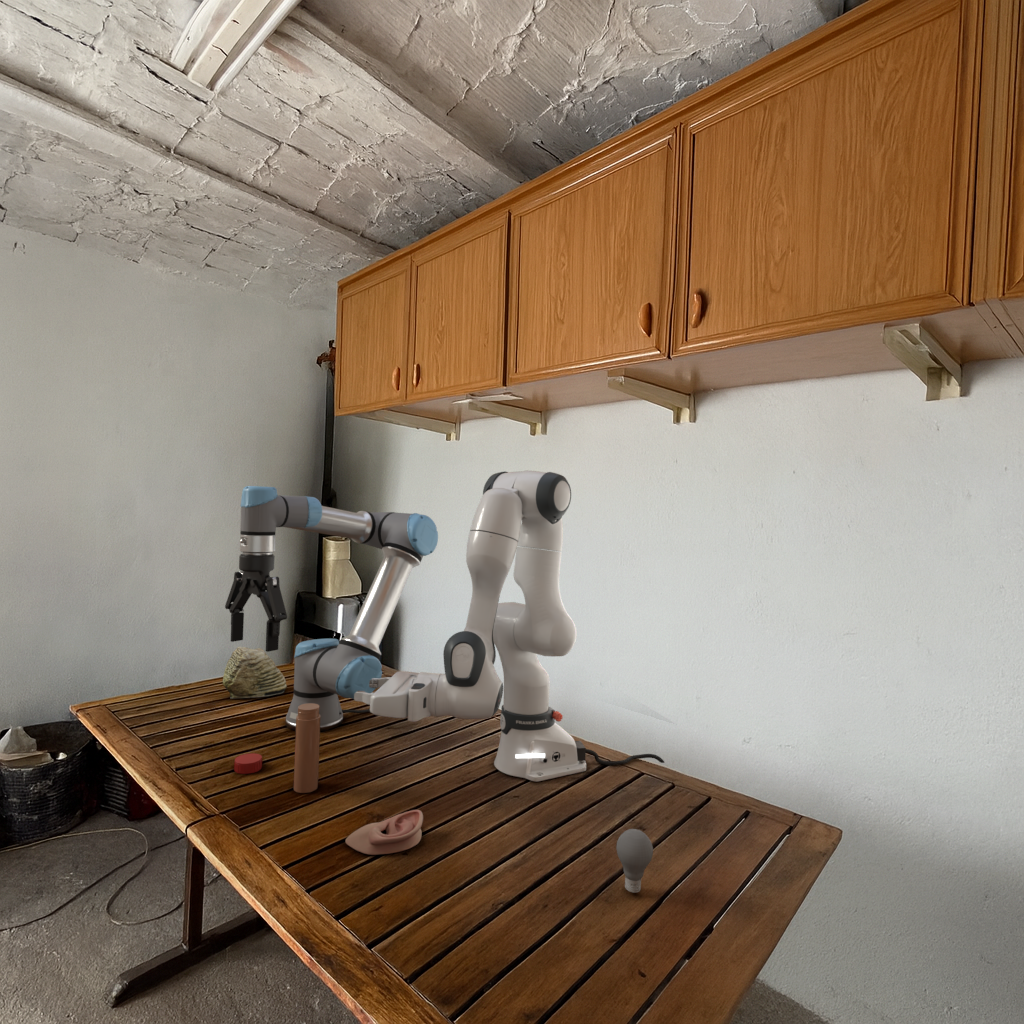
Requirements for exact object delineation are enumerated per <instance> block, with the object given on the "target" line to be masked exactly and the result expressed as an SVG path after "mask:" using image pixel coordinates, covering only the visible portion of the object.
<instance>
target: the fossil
mask: <svg viewBox="0 0 1024 1024" xmlns="http://www.w3.org/2000/svg"><path fill="white" fill-rule="evenodd" d="M222 676H223V677H222V685H223V687H224V688H225V690H226V691H228V693H229V698H230V699H250V698H264V697H271V696H275V695H281V694H284V693H285V691H286V689H287V687H288V686H287V680H286V678H285V676H284V674H283V673H282V672H281V669H279V668H278V667H277V665H276V663H275V662H274V660H273V659H272V658H271V657H270V656H269V655H268V654H267V653H266V651H265V650H264V649H263V648H260V647H258V648H251V647H247V646H246V647H245V646H238V647H237V648H236V649H235V650H233V651H232V653H231V656H230V657H229V659H228V660H227V663H226V666H225V668H224V671H223V675H222Z"/></svg>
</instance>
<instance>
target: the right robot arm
mask: <svg viewBox="0 0 1024 1024" xmlns="http://www.w3.org/2000/svg"><path fill="white" fill-rule="evenodd" d="M571 500H572V488H571V485H570V484H569V481H568V479H567V478H566V477H565V476H564V475H562V474H560V473H556V472H552V471H547V472H545V471H537V470H519V471H500V472H495V473H493V474H491V475H490V476H489V478H488V479H487V480H486V481H485V483H484V486H483V490H482V496H481V498H480V501H479V503H478V504H477V507H476V510H475V512H474V515H473V519H472V521H471V525H470V529H469V533H468V537H467V542H466V543H467V544H466V555H465V556H466V557H465V558H466V559H465V562H466V565H467V568H468V571H469V574H470V578H471V585H472V586H471V587H472V592H471V599H470V604H469V609H468V614H467V619H466V624H465V627H464V629H463V630H462V631H457V632H455V633H454V634H452V635H451V636H450V637H449V638H448V640H446V642H445V645H444V647H443V654H442V655H443V668H444V673H439V672H427V671H419V672H416V671H409V670H408V671H407V670H399V671H396V672H395V673H394V674H393V675H391V676H387V677H385V676H384V677H381V678H372V679H371V680H370V681H369V687H370V688H376V689H377V690H376V691H374V692H372V693H366V692H365V691H357V692H356V693H355V694H354V699H353V700H354V701H355V702H361V703H364V704H366V705H368V706H369V709H370V712H369V713H371V714H373V715H375V716H379V717H385V718H392V719H404V718H407V721H408V722H415V723H416V722H419V721H420V720H423V719H425V718H430V717H436V718H440V717H446V716H449V717H453V718H455V719H463V720H486V719H490V718H492V717H493V716H495V715H496V713H497V712H498V710H499V709H500V706H501V710H500V720H499V724H500V726H499V727H500V737H499V745H498V748H497V753H496V756H495V758H494V761H493V766H494V768H495V769H497V770H498V771H499V772H501V773H502V774H506V775H508V776H513V777H517V778H521V779H522V778H523V779H526V780H529V781H531V782H537V783H538V782H541V781H546V780H551V779H555V778H560V777H565V776H570V775H574V774H578V773H583V772H586V771H587V762H586V754H590V755H592V756H593V758H594V760H595V762H596V763H598V764H600V765H604V766H619V765H620V766H622V765H625V764H628V763H630V762H631V761H633V760H640V759H654V760H657V761H658V762H659V763H661V764H664V763H665V760H664V759H663V758H662V757H661V756H659V755H657V754H653V753H642V754H633V755H630V756H628V757H627V758H625V759H622V760H613V761H606V760H602V759H601V758H599V754H598V753H597V752H596V751H594V750H592V749H588V748H587V747H586V746H585V745H584V744H583V742H582V741H581V740H575V739H574V737H573V736H572V735H571V734H570V733H569V732H568V731H566V730H565V729H564V728H563V727H562V726H560V725H559V724H558V723H557V722H562V720H563V718H564V715H563V714H562V713H561V712H560V711H558V710H555V709H554V708H553V707H551V706H549V704H550V687H551V685H550V684H551V683H550V682H551V681H550V680H551V679H550V675H549V674H548V672H547V670H546V669H545V667H543V665H542V664H541V662H540V660H539V657H538V656H542V657H564V656H566V655H567V654H569V653H570V652H571V650H573V648H574V646H575V644H576V641H577V637H578V636H577V635H578V632H577V631H578V630H577V626H576V624H575V622H574V620H573V619H572V617H571V615H569V613H568V612H567V609H566V608H565V605H564V602H563V600H562V594H561V590H560V589H561V588H560V572H561V561H562V553H563V552H562V551H563V542H564V541H563V540H564V529H563V528H564V525H563V516H564V515H565V514H566V512H567V511H568V510H569V507H570V505H571ZM513 562H514V566H513V567H514V568H513V579H514V582H515V583H516V584H517V586H518V587H519V588H520V590H521V592H522V594H523V597H524V603H520V602H516V601H505V602H500V601H499V600H500V598H501V597H500V596H501V593H502V590H503V587H504V585H505V582H506V580H507V578H508V574H509V572H510V569H511V567H512V565H513ZM496 651H497V653H498V656H499V660H500V663H501V667H502V673H503V674H502V675H503V681H502V680H501V678H500V677H499V675H498V672H497V670H496V668H495V666H494V664H495V662H496V658H497V653H496ZM502 699H503V704H502V705H501V702H502ZM555 721H556V722H555Z"/></svg>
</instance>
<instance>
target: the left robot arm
mask: <svg viewBox="0 0 1024 1024" xmlns="http://www.w3.org/2000/svg"><path fill="white" fill-rule="evenodd" d="M277 528H285V529H286V528H287V529H293V530H299V531H305V532H311V533H317V534H322V535H330V536H335V537H341V538H347V539H351V540H352V541H353V542H354V543H357V544H362V545H366V546H370V547H373V548H377V549H379V550H381V551H382V554H383V558H382V561H381V563H380V565H379V568H378V570H377V572H376V574H375V576H374V579H373V581H372V583H371V584H370V587H369V589H368V592H367V594H366V597H365V599H364V601H363V603H362V605H361V607H360V610H359V612H358V614H357V616H356V618H355V621H354V623H353V625H352V627H351V630H350V631H349V634H348V635H346V636H344V637H341V638H340V640H339V639H337V638H317V639H316V638H315V639H308V640H304V641H300V642H299V643H298V644H297V645H296V646H295V650H294V651H295V652H294V655H293V658H294V672H293V673H294V674H293V695H292V696H293V697H292V699H291V702H290V704H289V708H288V711H287V713H286V715H285V726H286V728H287V729H289V730H291V731H294V732H296V716H297V715H298V706H300V705H302V704H307V703H314V704H318V705H319V706H320V709H319V714H320V715H321V718H320V732H325V731H329V730H332V729H335V728H337V727H339V726H340V725H342V723H343V722H344V713H347V714H349V713H351V714H353V713H354V714H365V713H371V712H370V708H366V709H342V706H341V702H340V699H339V696H340V697H342V698H345V699H351V700H354V694H355V693H356V692H357V691H365V692H366V693H374V692H375V690H376V689H377V688H370V687H369V681H370V680H371V679H372V678H382V677H383V670H382V668H383V667H382V663H381V661H380V659H381V656H382V652H381V650H380V645H381V642H382V640H383V638H384V635H385V633H386V630H387V628H388V626H389V623H390V621H391V619H392V617H393V614H394V612H395V609H396V607H397V605H398V603H399V600H400V598H401V595H402V593H403V591H404V588H405V586H406V584H407V581H408V579H409V576H410V574H411V572H412V570H413V569H414V568H416V567H419V566H420V564H421V562H422V560H423V557H426V556H429V555H431V554H432V553H433V552H434V551H435V550H436V548H437V546H438V541H439V532H438V529H437V525H436V523H435V521H434V520H433V519H432V518H431V517H430V516H428V515H426V514H420V513H417V512H414V513H407V512H406V513H405V512H395V511H383V512H381V511H379V512H378V511H377V512H376V511H365V510H359V511H357V512H355V511H349V510H345V509H341V508H334V507H329V506H325V505H322V504H321V501H320V500H319V499H318V498H316V497H314V496H307V495H283V494H282V495H281V494H280V495H279V494H278V489H277V488H276V487H275V486H263V485H262V486H261V485H260V486H259V485H246V486H244V487H243V488H242V492H241V499H240V527H239V529H240V530H239V531H240V539H239V552H241V553H240V555H239V556H238V557H239V558H238V569H239V570H240V571H235V572H234V574H233V582H232V585H231V587H230V590H229V593H228V596H227V599H226V602H225V604H224V609H225V610H228V611H229V613H230V642H231V643H234V642H239V641H243V640H244V624H245V621H244V620H245V610H244V608H245V606H246V605H247V603H248V601H249V599H250V598H251V596H252V594H253V595H254V596H256V597H257V598H258V599H259V601H260V602H261V604H262V607H263V609H264V611H265V614H266V616H267V618H268V620H267V621H266V629H265V630H266V631H265V632H266V634H265V652H267V653H269V652H273V651H278V650H279V641H280V640H279V639H280V633H281V629H280V628H281V622H282V621H284V620H287V619H288V614H287V611H286V606H285V603H284V599H283V595H282V590H281V587H280V577H279V576H271V575H270V574H271V573H270V572H272V571H273V570H274V569H275V555H274V554H273V553H274V552H276V530H277Z"/></svg>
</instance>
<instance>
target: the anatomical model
mask: <svg viewBox="0 0 1024 1024" xmlns="http://www.w3.org/2000/svg"><path fill="white" fill-rule="evenodd" d="M423 814H424V813H423V812H422V810H420V809H411V810H409V811H404V812H401V813H398V814H396V815H393V816H391V817H388V818H387V819H385V820H382V821H380V822H371V823H368V824H365V825H363V826H361V827H359V828H357V829H356V830H355V831H353V832H352V833H351V834H349V835H348V836H347V837H346V838H345V842H344V843H345V844H346V845H347V846H349V847H350V848H351V849H353V850H355V851H357V852H360V853H362V854H365V855H368V856H369V855H370V856H376V855H387V854H393V853H399V852H403V851H406V850H409V849H411V848H413V847H415V846H416V845H418V844H419V843H420V841H421V840H422V835H423V834H422V832H423V831H422V828H421V827H422V826H423V822H424V815H423Z"/></svg>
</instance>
